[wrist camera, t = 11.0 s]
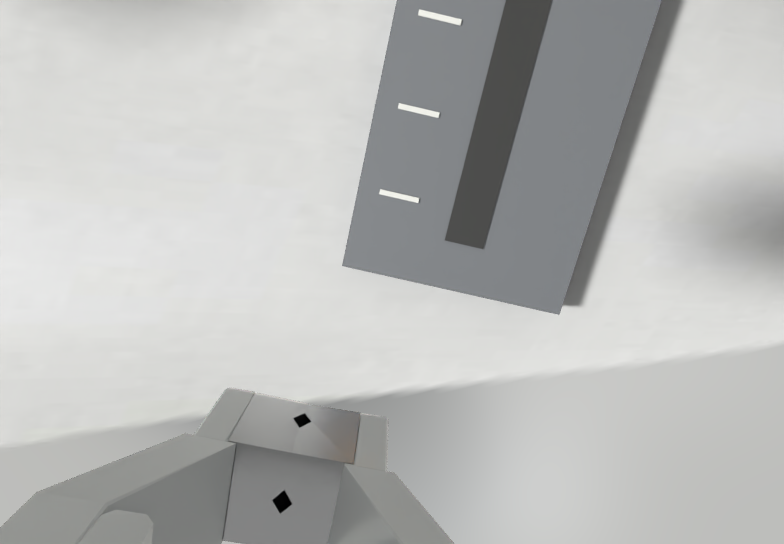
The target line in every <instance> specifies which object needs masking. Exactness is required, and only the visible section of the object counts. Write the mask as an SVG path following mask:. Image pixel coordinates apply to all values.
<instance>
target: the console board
mask: <svg viewBox="0 0 784 544" xmlns="http://www.w3.org/2000/svg"><path fill="white" fill-rule="evenodd" d="M661 1H662V0H397V3H396V7H395V12H394V17H393V22H392V27H391V32H390V36H389V41H388V46H387V51H386V56H385V61H384V66H383V70H382V75H381V80H380V85H379V90H378V95H377V100H376V104H375V109H374V114H373V119H372V124H371V129H370V133H369V138H368V143H367V148H366V153H365V158H364V163H363V167H362V172H361V177H360V182H359V187H358V192H357V197H356V201H355V206H354V211H353V216H352V221H351V226H350V231H349V235H348V240H347V245H346V250H345V255H344V260H343V264H342V266H345V267H350V268H354V269H358V270H363V271H367V272H372V273H376V274H381V275H385V276H390V277H394V278H398V279H403V280H407V281H412V282H416V283H421V284H425V285H429V286H434V287H438V288H443V289H447V290H452V291H456V292H461V293H465V294H469V295H474V296H478V297H483V298H487V299H492V300H496V301H501V302H505V303H509V304H514V305H518V306H523V307H527V308H532V309H536V310H540V311H545V312H549V313H554V314H558V315H559V314H560V311H561V308H562V305H563V302H564V299H565V296H566V293H567V290H568V287H569V284H570V280H571V277H572V274H573V271H574V268H575V265H576V262H577V259H578V256H579V253H580V250H581V247H582V244H583V241H584V237H585V234H586V231H587V228H588V225H589V222H590V219H591V216H592V213H593V210H594V207H595V204H596V201H597V198H598V195H599V191H600V188H601V185H602V182H603V179H604V176H605V173H606V170H607V167H608V164H609V161H610V158H611V155H612V152H613V149H614V145H615V142H616V139H617V136H618V133H619V130H620V127H621V124H622V121H623V118H624V115H625V112H626V109H627V106H628V103H629V99H630V96H631V93H632V90H633V87H634V84H635V81H636V78H637V75H638V72H639V69H640V66H641V63H642V60H643V56H644V53H645V50H646V47H647V44H648V41H649V38H650V35H651V32H652V29H653V26H654V23H655V20H656V17H657V14H658V10H659V7H660V4H661Z"/></svg>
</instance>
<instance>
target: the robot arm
mask: <svg viewBox="0 0 784 544" xmlns="http://www.w3.org/2000/svg"><path fill="white" fill-rule="evenodd" d="M387 447H388V418H387V417H384V416H377V415H370V414H364V413H361V415H360V413H359V412H353V411H347V410H341V409H335V408H329V407H323V406H317V405H311V404H308V403H303V402H299V401H294V400H289V399H284V398H280V397H275V396H270V395H266V394H261V393H255V392H253V391H247V390H242V389H236V388H227V389H226V390H225V391H224V392H223V394H222V395H221V396H220V398H219V399H218V401H217V402H216V403H215V405H214V406H213V408H212V409H211V411H210V412H209V413H208V415H207V416H206V418H205V419H204V421H203V422H202V424H201V425H200V426H199V428H198V429H197V431H196V432H195V434H194V435H191V434H183V435H180V436H178V437H175V438H173V439H170V440H168V441H165V442H163V443H160V444H157V445H155V446H152V447H150V448H147V449H145V450H142V451H140V452H137V453H135V454H132V455H130V456H127V457H125V458H122V459H119V460H117V461H114V462H112V463H109V464H107V465H104V466H102V467H99V468H97V469H94V470H91V471H89V472H86V473H84V474H82V475H79V476H76V477H74V478H71V479H69V480H66V481H64V482H61V483H59V484H56V485H54V486H51V487H48V488H46V489H43V490H41V491H39V492H36V493H35V494H34V495H33V496H32V497H31V498H30V499H29V500H28V501H27V502H26V503H25V504H24V505H23V506H22V507H21V508H20V509H19V510H18V511H17V512H16V513H15V514H14V515H12V516H11V517H10V518H9V520H8V521H6V522H5V523H4V524H3V525H2V526H1V527H0V544H221V543H222V541H230V542H236V543H242V544H454V543H453V541H452V540H451V539H450V538H449V537H448V535H447V534H446V533H445V532H444V531H443V530H442V528H441V527H440V526H439V525H438V524H437V522H436V521H435V520H434V519H433V518H432V516H431V515H430V514H429V513H428V512H427V511H426V509H425V508H424V507H423V506H422V505H421V504H420V502H419V501H418V500H417V499H416V498H415V496H414V495H413V494H412V493H411V492H410V491H409V489H408V488H407V487H406V486H405V485H404V483H403V482H402V481H401V480H400V479H399V478H398V476H397V475H396V474H395V473H393V472H388V471H387Z"/></svg>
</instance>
